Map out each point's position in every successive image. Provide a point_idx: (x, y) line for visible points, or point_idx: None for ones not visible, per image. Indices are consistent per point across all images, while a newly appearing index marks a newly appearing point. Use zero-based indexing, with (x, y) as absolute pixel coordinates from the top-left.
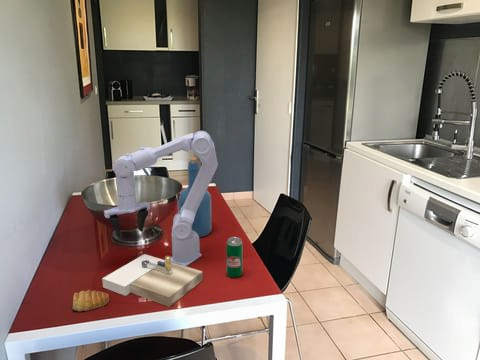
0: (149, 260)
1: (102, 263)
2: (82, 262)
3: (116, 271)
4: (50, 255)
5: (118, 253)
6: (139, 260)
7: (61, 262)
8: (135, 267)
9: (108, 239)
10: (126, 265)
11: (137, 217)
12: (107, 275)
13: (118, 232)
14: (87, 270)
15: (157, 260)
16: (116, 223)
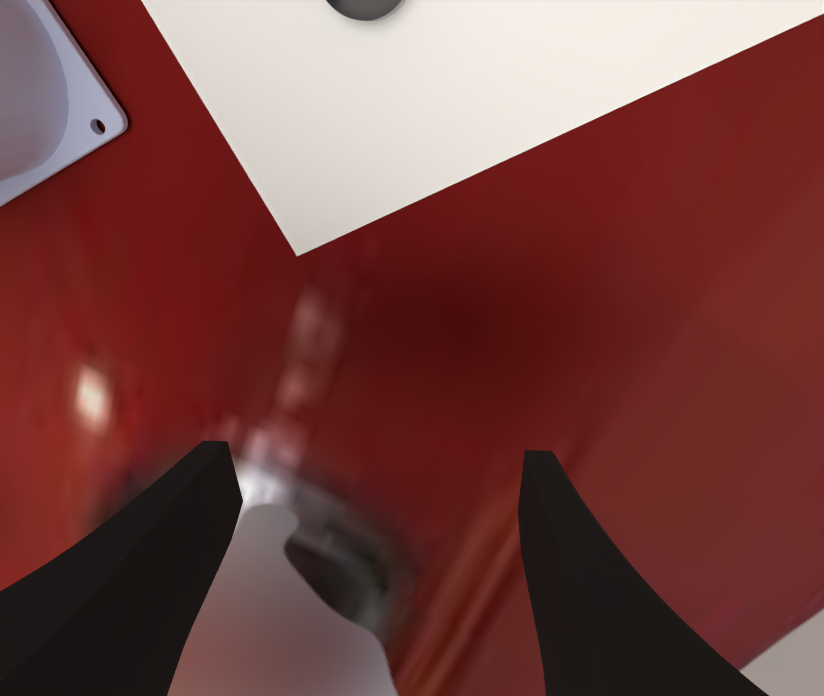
0: (290, 88)
1: (595, 390)
2: (690, 469)
3: (691, 50)
4: (774, 620)
5: (441, 453)
6: (383, 153)
7: (784, 531)
8: (482, 10)
9: (423, 615)
10: (539, 125)
11: (168, 683)
12: (818, 14)
13: (567, 497)
14: (733, 357)
15: (209, 28)
16: (673, 660)
